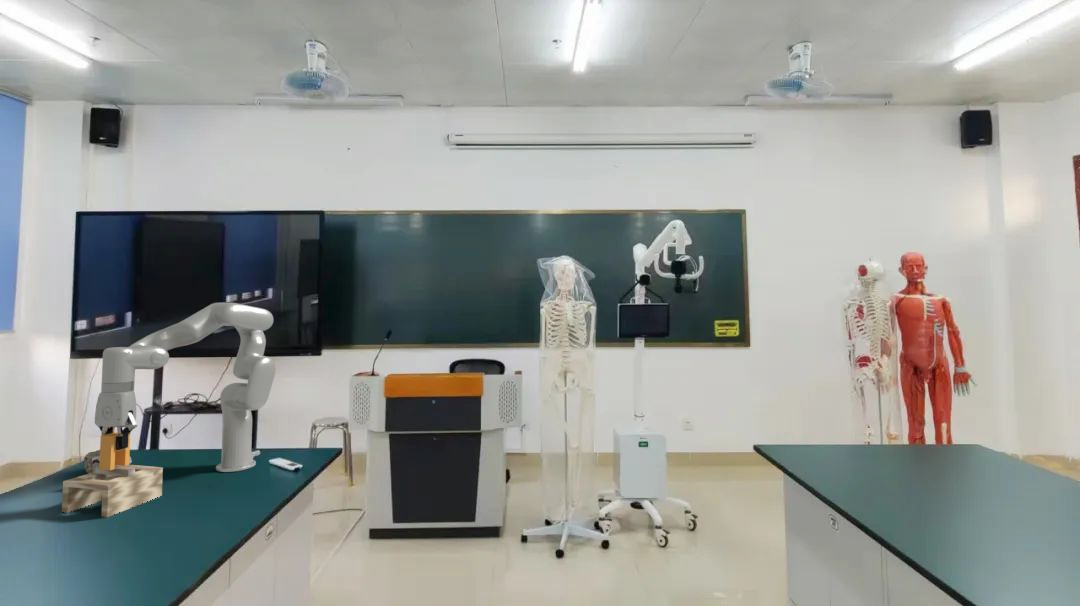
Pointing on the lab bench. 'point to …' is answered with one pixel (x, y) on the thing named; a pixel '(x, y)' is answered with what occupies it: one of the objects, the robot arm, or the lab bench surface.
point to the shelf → (113, 488)
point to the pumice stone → (88, 460)
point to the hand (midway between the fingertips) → (115, 447)
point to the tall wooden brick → (112, 452)
